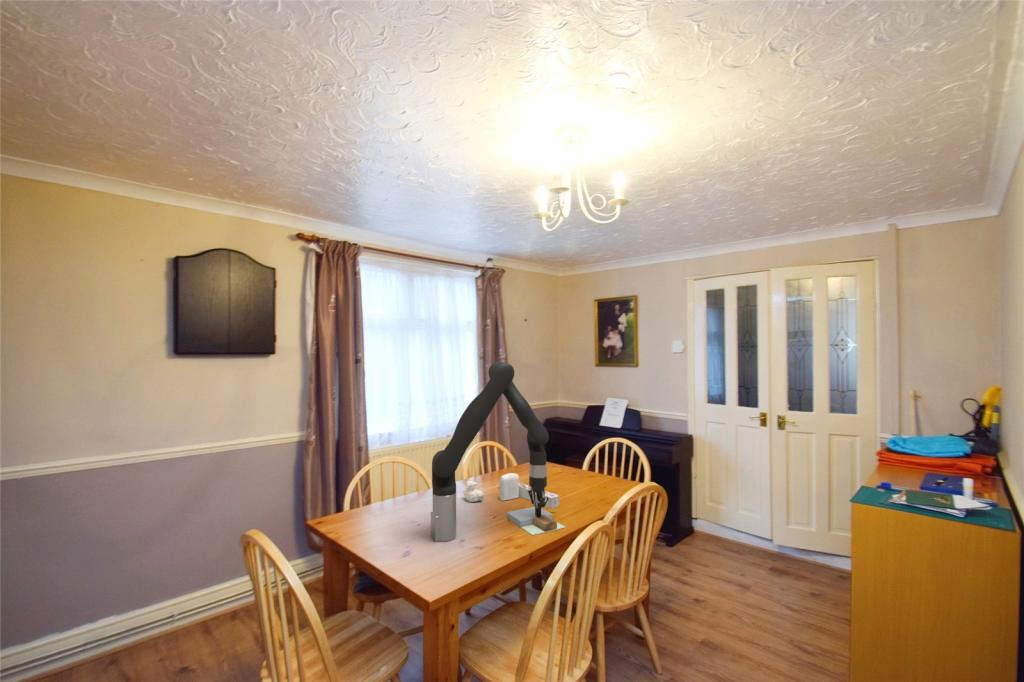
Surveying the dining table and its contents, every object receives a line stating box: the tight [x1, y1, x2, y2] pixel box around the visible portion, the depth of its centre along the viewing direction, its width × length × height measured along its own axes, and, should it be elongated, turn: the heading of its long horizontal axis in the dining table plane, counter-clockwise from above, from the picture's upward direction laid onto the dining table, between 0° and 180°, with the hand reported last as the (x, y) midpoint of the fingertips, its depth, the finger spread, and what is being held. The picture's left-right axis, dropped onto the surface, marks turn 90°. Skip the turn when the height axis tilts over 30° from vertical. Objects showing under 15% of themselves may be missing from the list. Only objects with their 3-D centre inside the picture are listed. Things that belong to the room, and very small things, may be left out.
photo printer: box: [499, 472, 520, 502], centre depth 218 cm, size 10×4×12 cm, turn 123°
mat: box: [520, 521, 566, 536], centre depth 181 cm, size 16×9×1 cm, turn 119°
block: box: [533, 515, 558, 533], centre depth 181 cm, size 6×9×3 cm, turn 30°
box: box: [519, 482, 560, 510], centre depth 215 cm, size 27×5×6 cm, turn 42°
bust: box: [462, 480, 485, 503], centre depth 214 cm, size 12×8×11 cm
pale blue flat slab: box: [506, 506, 554, 528], centre depth 191 cm, size 16×12×2 cm
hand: (538, 516), depth 185 cm, fingers closed
